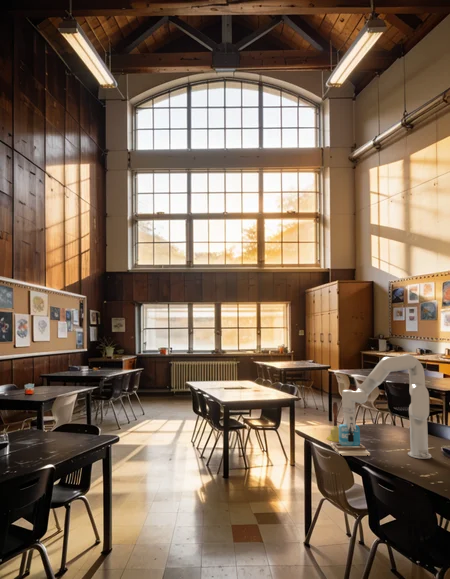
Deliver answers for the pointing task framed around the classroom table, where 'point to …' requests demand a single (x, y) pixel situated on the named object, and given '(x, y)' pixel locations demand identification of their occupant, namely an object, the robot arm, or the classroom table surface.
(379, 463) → the classroom table surface
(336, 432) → the handbell
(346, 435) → the data package
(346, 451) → the jig
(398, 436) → the classroom table surface
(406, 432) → the classroom table surface
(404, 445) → the classroom table surface
